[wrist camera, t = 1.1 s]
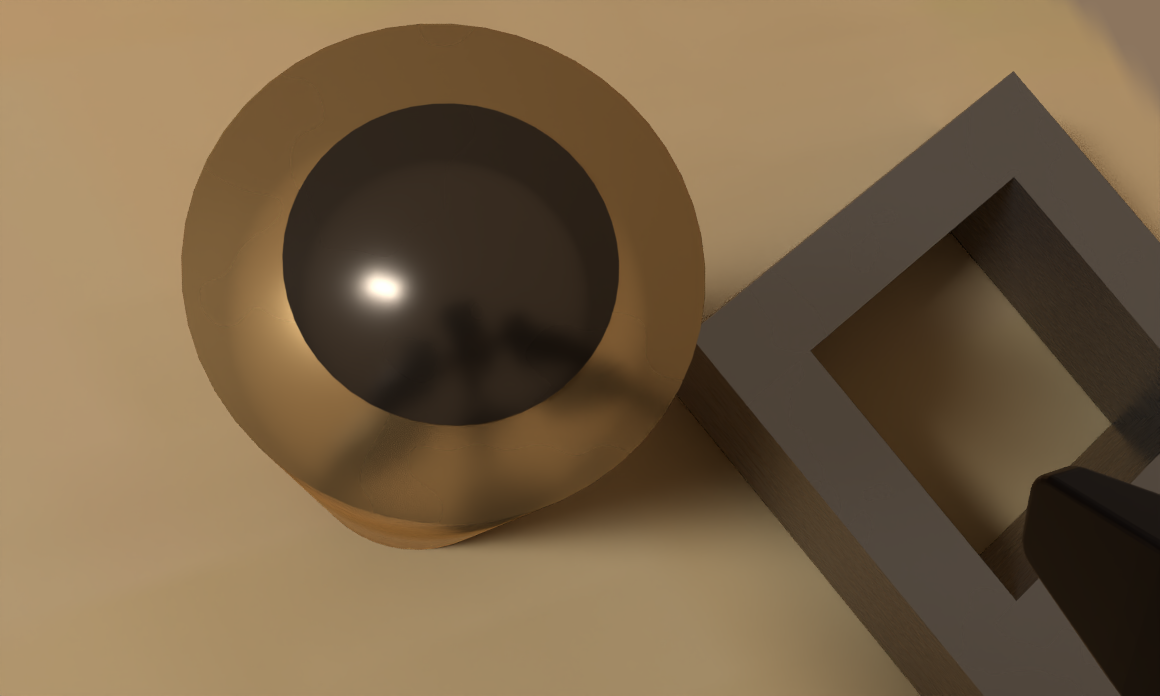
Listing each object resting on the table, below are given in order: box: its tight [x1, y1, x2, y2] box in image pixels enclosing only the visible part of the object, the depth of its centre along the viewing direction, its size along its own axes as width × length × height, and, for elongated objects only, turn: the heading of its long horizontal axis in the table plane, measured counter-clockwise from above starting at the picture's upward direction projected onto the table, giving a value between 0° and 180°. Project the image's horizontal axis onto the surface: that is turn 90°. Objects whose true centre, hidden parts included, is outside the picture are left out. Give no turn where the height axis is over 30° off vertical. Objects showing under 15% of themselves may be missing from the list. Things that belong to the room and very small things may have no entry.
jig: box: [676, 71, 1160, 696], centre depth 23 cm, size 14×10×3 cm
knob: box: [181, 24, 705, 550], centre depth 16 cm, size 5×5×13 cm
